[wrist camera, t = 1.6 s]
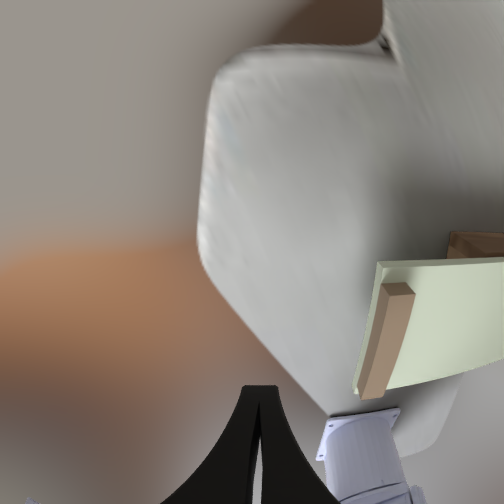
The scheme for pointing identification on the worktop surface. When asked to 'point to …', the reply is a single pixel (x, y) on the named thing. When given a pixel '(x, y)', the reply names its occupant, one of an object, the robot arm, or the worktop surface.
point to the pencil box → (475, 245)
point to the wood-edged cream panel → (430, 322)
